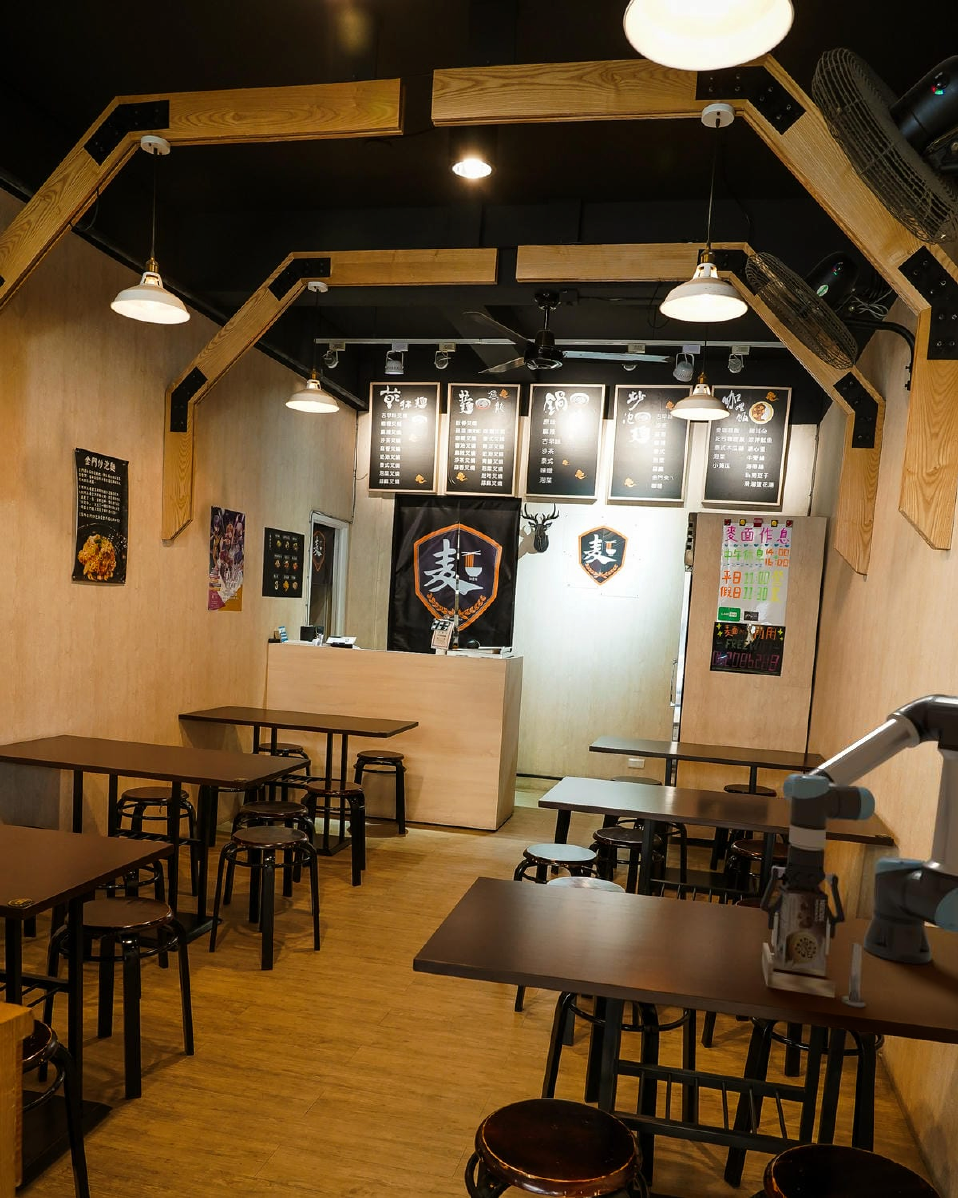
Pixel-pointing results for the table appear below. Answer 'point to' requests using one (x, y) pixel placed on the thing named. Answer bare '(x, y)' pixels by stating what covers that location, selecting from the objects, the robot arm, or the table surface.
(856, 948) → the post
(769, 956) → the bay
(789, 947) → the coffee box
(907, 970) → the table surface
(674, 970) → the table surface
